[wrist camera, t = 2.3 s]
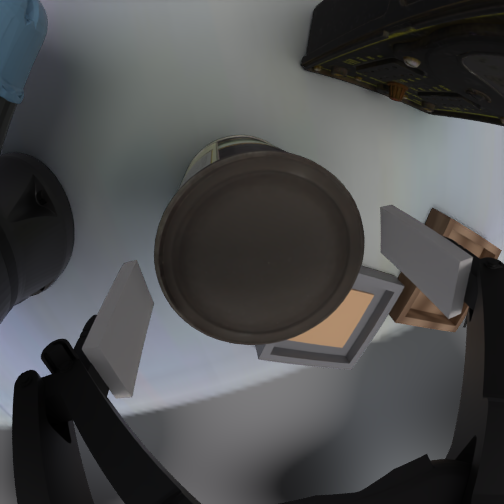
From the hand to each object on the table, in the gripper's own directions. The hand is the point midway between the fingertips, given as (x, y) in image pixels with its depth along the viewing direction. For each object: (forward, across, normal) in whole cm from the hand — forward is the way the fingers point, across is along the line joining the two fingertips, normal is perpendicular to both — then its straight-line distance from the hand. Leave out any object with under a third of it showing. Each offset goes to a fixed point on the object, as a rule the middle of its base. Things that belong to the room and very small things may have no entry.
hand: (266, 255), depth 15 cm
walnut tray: (+13, +23, -15) cm, 31 cm away
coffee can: (+13, 0, 0) cm, 13 cm away
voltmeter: (+13, +15, +11) cm, 23 cm away
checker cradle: (+13, +7, -15) cm, 21 cm away
